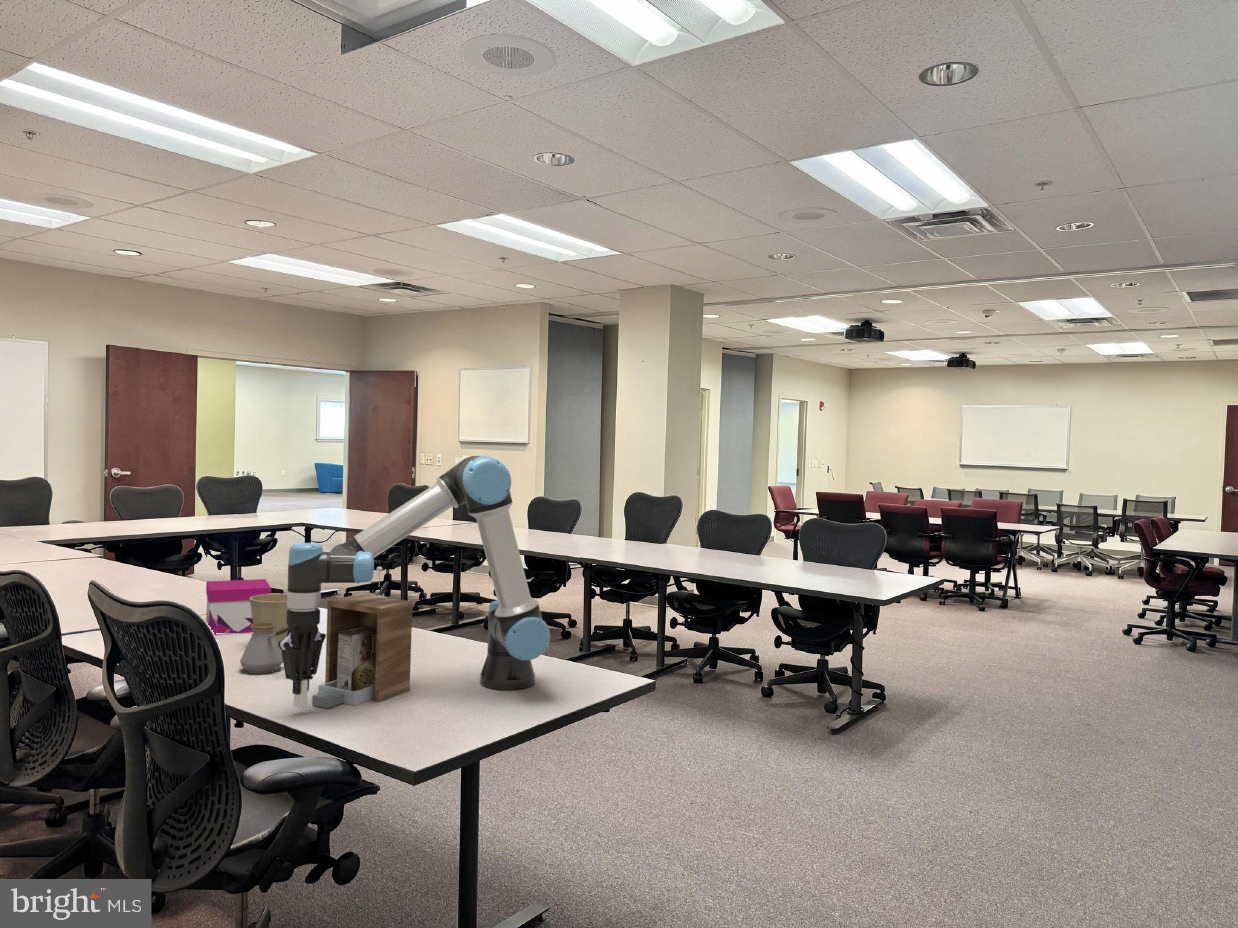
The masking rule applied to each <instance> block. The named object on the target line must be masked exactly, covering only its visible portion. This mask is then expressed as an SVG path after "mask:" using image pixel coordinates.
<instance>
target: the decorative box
mask: <svg viewBox="0 0 1238 928" xmlns="http://www.w3.org/2000/svg"><path fill="white" fill-rule="evenodd" d="M205 587H206V589H205V594H206V621H207V623H208V625H209V626H210V627H211V630H213V632H214V634H215V635H214V636H217V635H216V633H239V634H248V633H249V634H251V633H250V632H253V630H252V628H251V625H253V624H254V623H253V619H252V613H251V605H250V597H252V596H256V595H262V594H272V586H271V584H269V582H268V581H267V580H266V579H265V578H262V579H261V578H260V579H238V580H237V579H236V580H235V579H234V580H210V581H209V580H208V581H206V586H205ZM206 621H205V622H206Z"/></svg>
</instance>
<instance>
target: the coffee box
mask: <svg viewBox="0 0 1238 928" xmlns="http://www.w3.org/2000/svg"><path fill="white" fill-rule="evenodd" d="M376 644H377V629H376V628H374V627H370V626H362V627H357V628H351V629H346V630H341V631H338V665H337V688H339V689H344V690H349V691H354V692H355V691H358V690H361V689H364V688H367V687H370V686H373V685H375V677H376Z"/></svg>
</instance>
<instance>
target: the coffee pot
mask: <svg viewBox="0 0 1238 928" xmlns="http://www.w3.org/2000/svg"><path fill="white" fill-rule="evenodd" d="M274 627H275V624H273V623H257V624H253V625H251V628H252V630H253V633H251V637H250V639H249V641H248V643H247V645H246V647H245V650H244V652H243V654H242V655H241V658H240V660H239V663H240V665H241V667H242V668H243V669H244V670H246V671H247V673H249V674H261V675H262V674H268V673H269V674H270V673H273V672H276V671H277V669H278V668H280V666H281V665H282V664H283V659H282V653H281V650H280V648H279V646H278V643H277V641H276V639H275V636H277V635H280V634H283V633H285V632H287V631H288V627H287V628H283V629H281V630H280V631H278V632H276V633H274V634H273V628H274ZM272 671H273V672H272Z"/></svg>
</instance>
